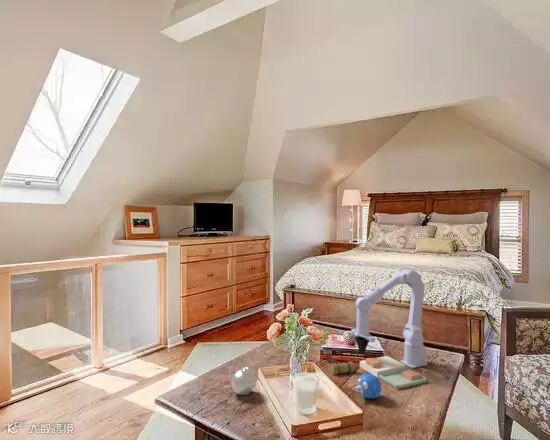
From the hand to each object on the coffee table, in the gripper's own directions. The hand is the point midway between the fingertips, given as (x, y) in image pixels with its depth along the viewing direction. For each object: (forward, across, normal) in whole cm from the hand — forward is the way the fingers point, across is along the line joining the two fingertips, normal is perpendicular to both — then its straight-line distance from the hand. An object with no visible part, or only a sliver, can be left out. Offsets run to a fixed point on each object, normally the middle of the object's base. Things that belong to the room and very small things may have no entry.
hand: (362, 352), depth 165 cm
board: (+5, +8, +5) cm, 11 cm away
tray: (+5, +20, +5) cm, 21 cm away
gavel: (+6, -4, -13) cm, 15 cm away
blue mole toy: (+5, +26, -19) cm, 33 cm away
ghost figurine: (+6, +5, -60) cm, 60 cm away
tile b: (+3, +8, 0) cm, 8 cm away
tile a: (+2, +21, +9) cm, 23 cm away
